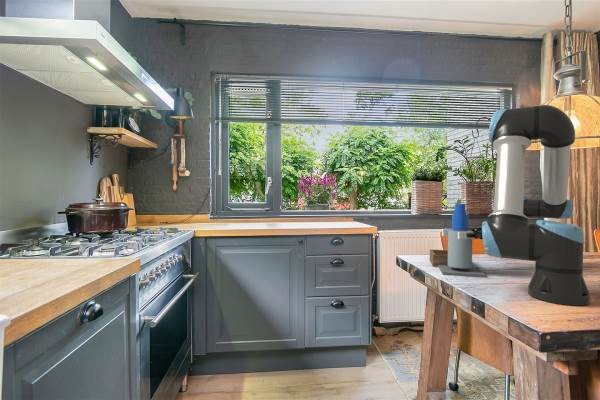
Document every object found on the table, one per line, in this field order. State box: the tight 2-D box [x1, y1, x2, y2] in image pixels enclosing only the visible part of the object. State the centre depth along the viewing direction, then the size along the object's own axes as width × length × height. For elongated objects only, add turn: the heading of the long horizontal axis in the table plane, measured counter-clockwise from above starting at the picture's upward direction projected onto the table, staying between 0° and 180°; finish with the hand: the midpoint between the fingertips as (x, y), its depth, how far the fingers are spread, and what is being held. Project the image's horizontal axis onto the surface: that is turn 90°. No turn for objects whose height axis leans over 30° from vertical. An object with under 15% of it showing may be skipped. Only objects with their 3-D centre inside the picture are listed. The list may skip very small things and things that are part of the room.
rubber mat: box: [438, 265, 487, 278], centre depth 138 cm, size 13×15×1 cm
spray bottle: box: [447, 203, 473, 268], centre depth 138 cm, size 9×9×25 cm
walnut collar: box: [429, 249, 448, 268], centre depth 153 cm, size 14×14×5 cm
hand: (450, 233), depth 137 cm, fingers closed on spray bottle, 9 cm apart
